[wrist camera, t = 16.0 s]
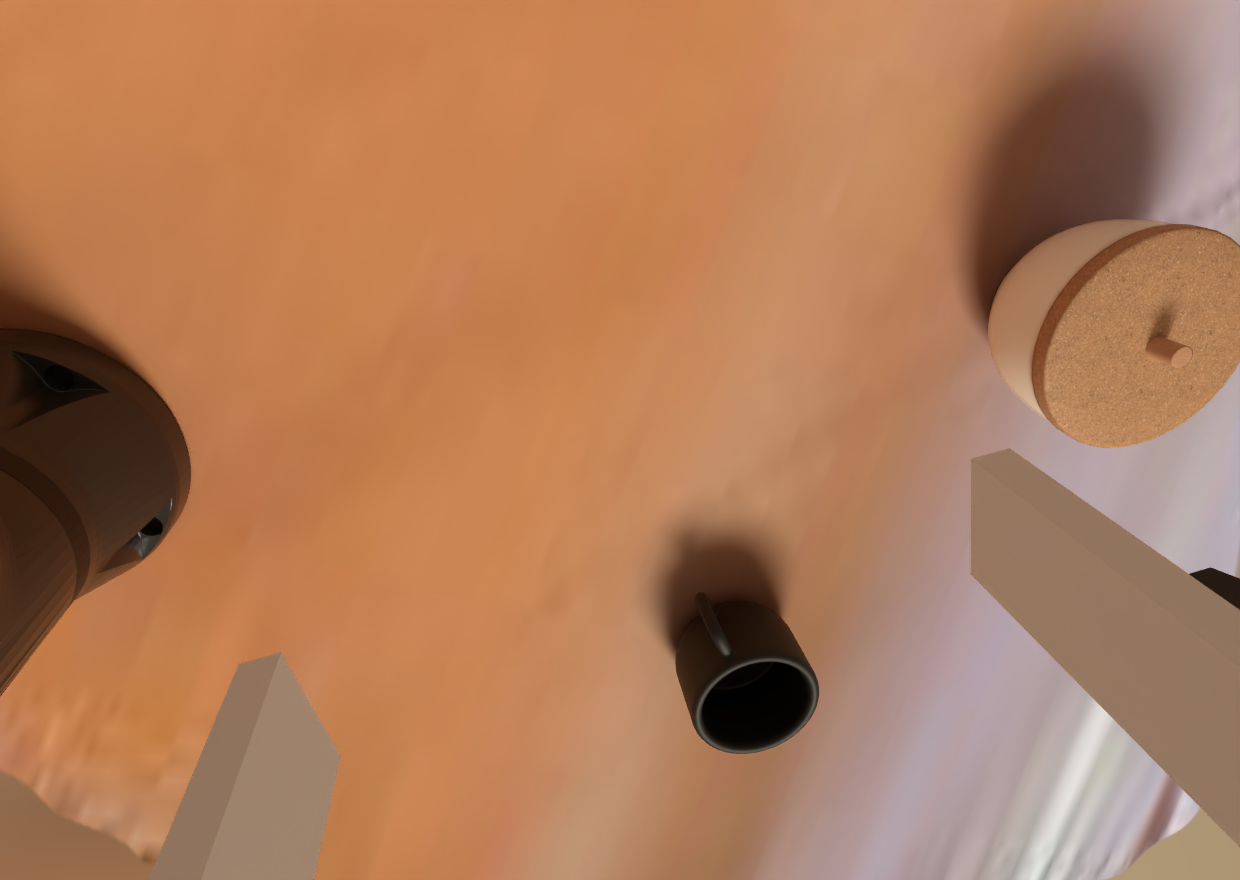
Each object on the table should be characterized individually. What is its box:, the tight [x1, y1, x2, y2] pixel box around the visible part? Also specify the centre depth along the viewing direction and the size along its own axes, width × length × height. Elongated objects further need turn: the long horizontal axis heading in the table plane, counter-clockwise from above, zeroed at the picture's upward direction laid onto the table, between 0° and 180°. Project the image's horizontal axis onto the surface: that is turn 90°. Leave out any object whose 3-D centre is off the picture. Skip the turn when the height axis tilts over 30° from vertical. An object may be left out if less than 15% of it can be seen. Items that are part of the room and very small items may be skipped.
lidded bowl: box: [988, 219, 1240, 448], centre depth 44 cm, size 13×13×11 cm
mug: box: [676, 592, 819, 754], centre depth 53 cm, size 12×9×7 cm
